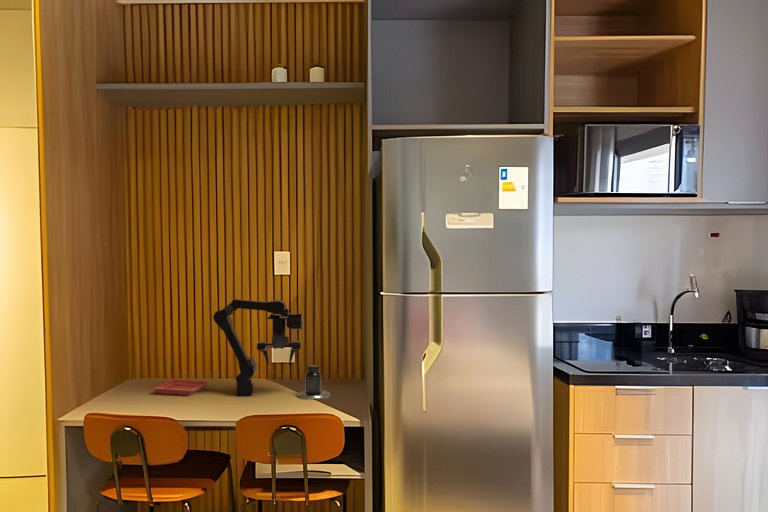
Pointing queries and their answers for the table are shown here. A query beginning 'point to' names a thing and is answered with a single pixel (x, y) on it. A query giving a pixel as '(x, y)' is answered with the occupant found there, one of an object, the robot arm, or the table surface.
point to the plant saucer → (181, 387)
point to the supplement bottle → (313, 380)
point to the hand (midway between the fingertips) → (278, 365)
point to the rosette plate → (321, 396)
